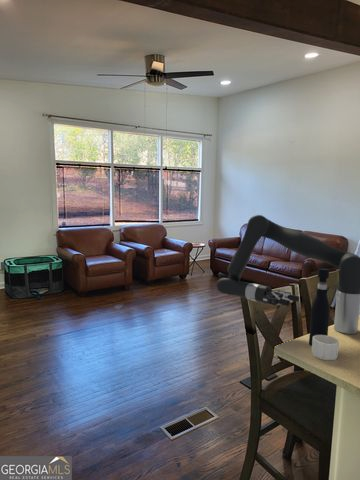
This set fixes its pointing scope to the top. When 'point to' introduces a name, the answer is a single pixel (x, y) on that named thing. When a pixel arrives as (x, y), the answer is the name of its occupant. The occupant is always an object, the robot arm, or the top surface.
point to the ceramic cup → (325, 347)
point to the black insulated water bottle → (320, 307)
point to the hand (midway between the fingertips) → (294, 301)
